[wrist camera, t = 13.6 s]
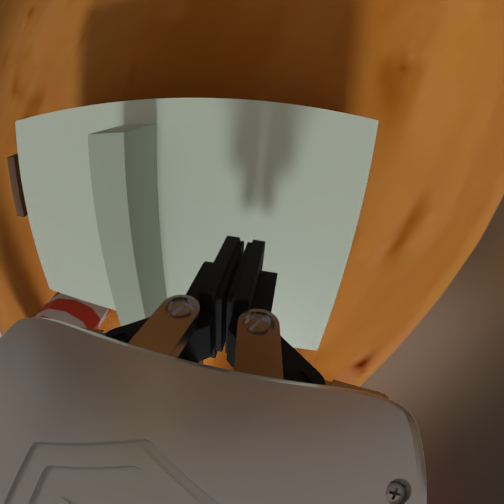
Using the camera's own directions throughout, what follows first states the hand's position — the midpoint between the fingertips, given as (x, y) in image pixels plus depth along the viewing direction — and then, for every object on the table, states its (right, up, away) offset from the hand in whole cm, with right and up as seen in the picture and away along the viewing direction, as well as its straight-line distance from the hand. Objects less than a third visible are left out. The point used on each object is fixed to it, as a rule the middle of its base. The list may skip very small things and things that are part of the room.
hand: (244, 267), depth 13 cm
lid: (-6, +2, +4) cm, 7 cm away
